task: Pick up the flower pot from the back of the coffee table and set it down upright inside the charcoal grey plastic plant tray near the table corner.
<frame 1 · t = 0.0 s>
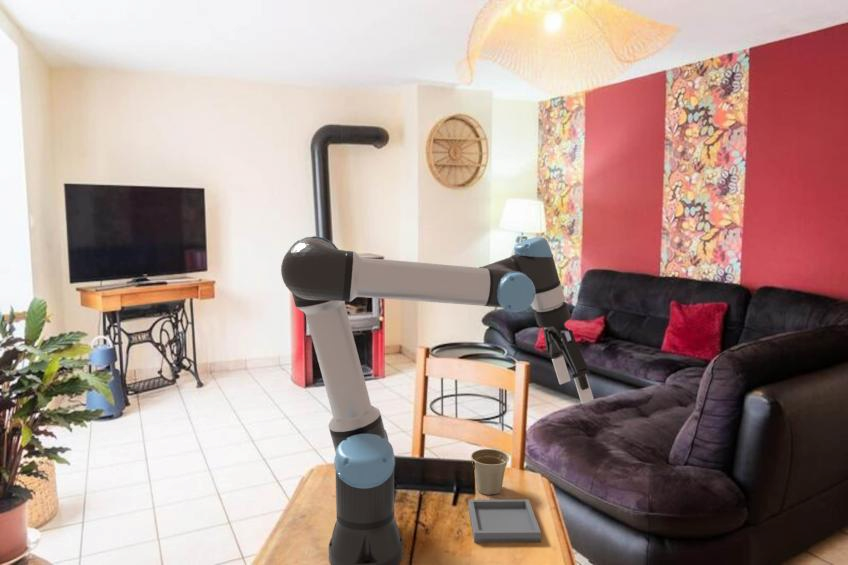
hand: (575, 391, 140), 28 cm above the table, tool tilted 20°, fingers open, 13 cm apart
flower pot: (489, 490, 151), on the table
plant tray: (502, 524, 135), on the table
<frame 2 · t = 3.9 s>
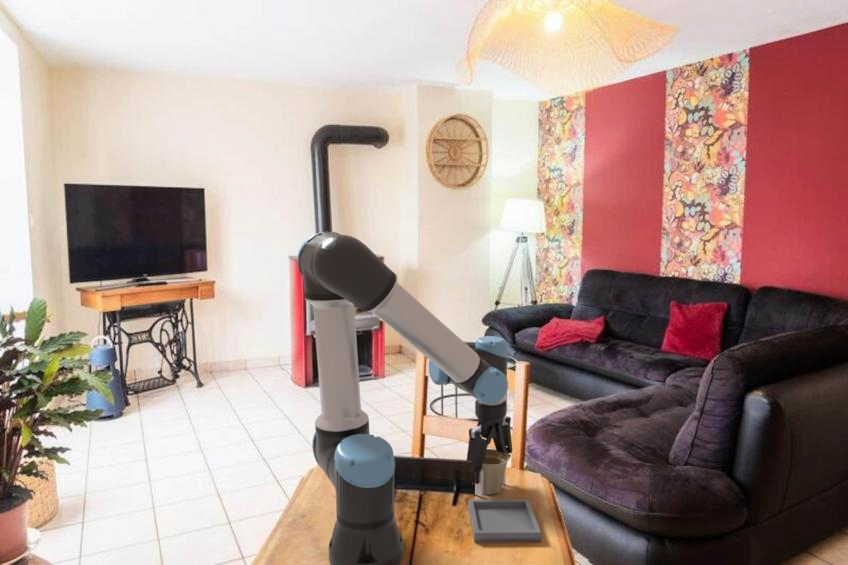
hand: (489, 488, 151), 0 cm above the table, tool pointing down, fingers closed on flower pot, 8 cm apart
flower pot: (489, 490, 151), on the table, touching gripper
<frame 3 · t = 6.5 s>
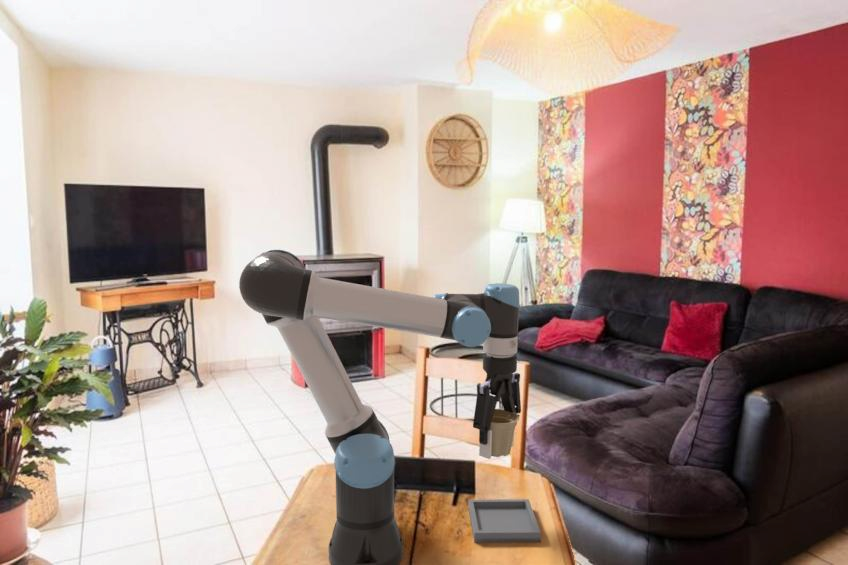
hand: (496, 450, 139), 15 cm above the table, tool pointing down, fingers closed on flower pot, 8 cm apart
flower pot: (496, 452, 139), point 14 cm above the table, touching gripper
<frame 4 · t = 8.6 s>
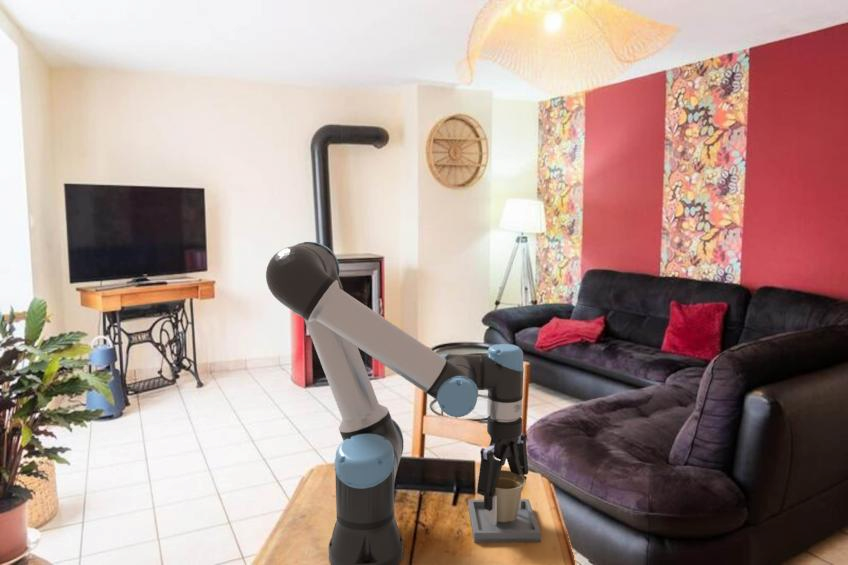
hand: (503, 514, 135), 2 cm above the table, tool pointing down, fingers closed on flower pot, 8 cm apart
flower pot: (503, 516, 135), point 2 cm above the table, touching gripper
when the fingers open (2 cm above the table, at t = 9.4 s): flower pot moves 4 cm, resting on plant tray.
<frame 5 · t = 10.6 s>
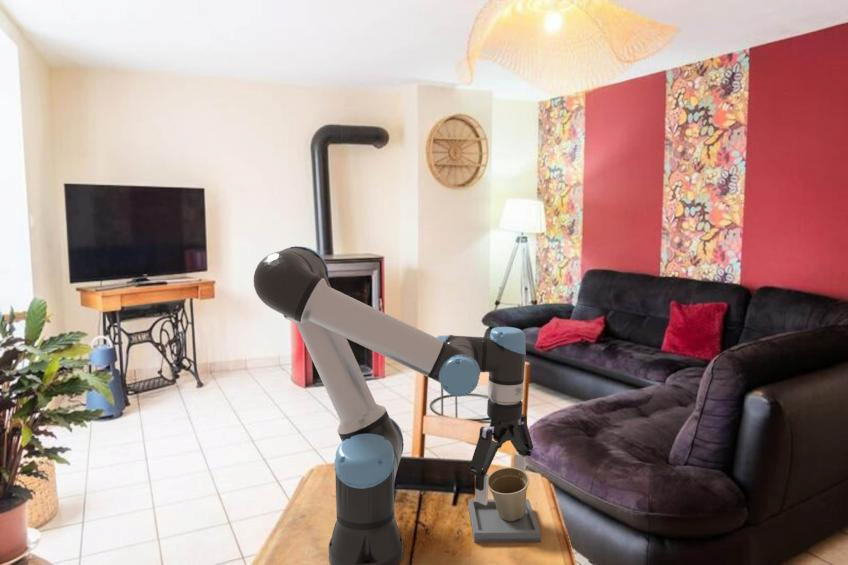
hand: (500, 492, 134), 8 cm above the table, tool pointing down, fingers open, 13 cm apart
flower pot: (512, 512, 138), point 1 cm above the table, touching gripper, plant tray
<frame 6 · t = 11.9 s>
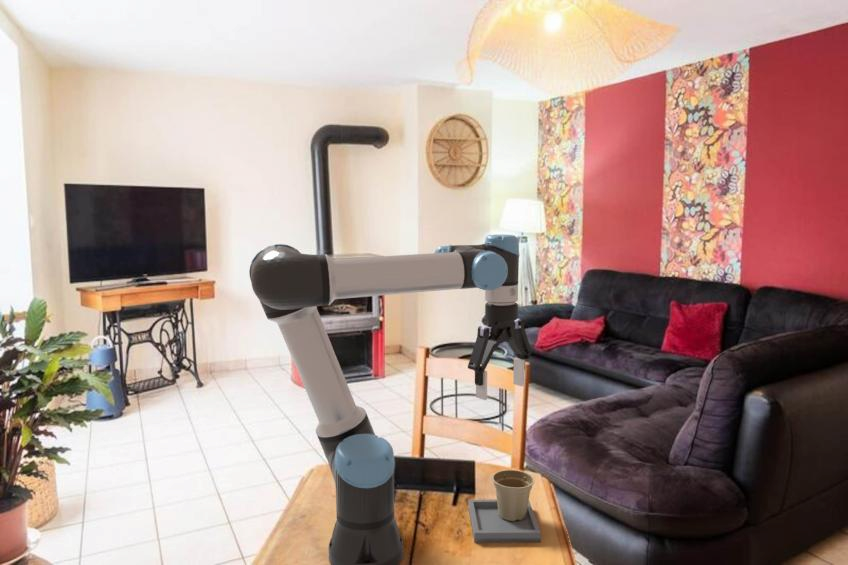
hand: (500, 391, 143), 27 cm above the table, tool pointing down, fingers open, 13 cm apart
flower pot: (512, 515, 138), point 1 cm above the table, touching plant tray
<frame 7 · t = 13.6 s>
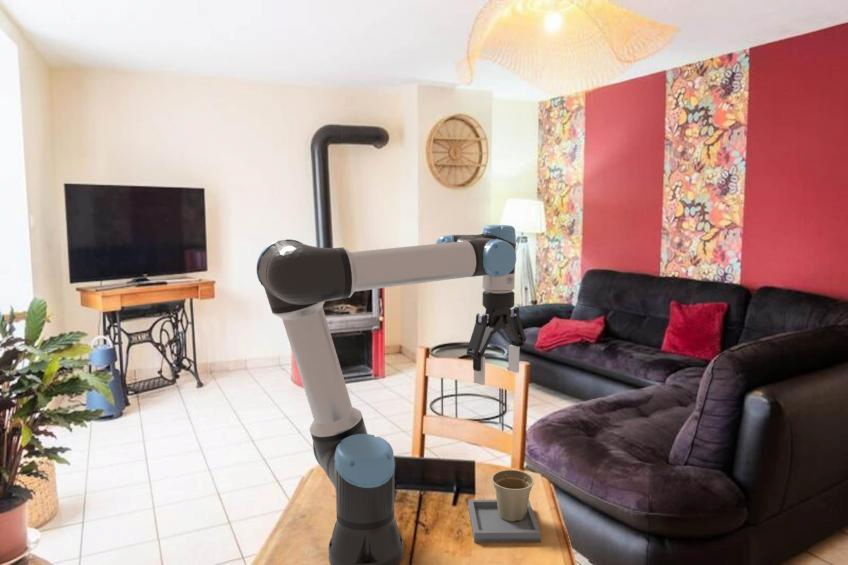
hand: (496, 377, 147), 29 cm above the table, tool pointing down, fingers open, 13 cm apart
nothing on the table moved.
at the end: flower pot inside the target area on the plant tray (3.6 cm from its centre), point 0.7 cm above the plant tray's base; flower pot tilted 1°; flower pot touching plant tray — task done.
